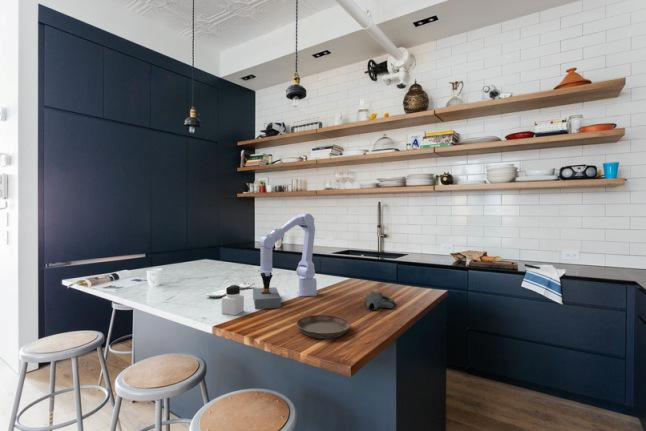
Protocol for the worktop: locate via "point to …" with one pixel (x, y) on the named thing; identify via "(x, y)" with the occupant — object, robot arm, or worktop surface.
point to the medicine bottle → (232, 301)
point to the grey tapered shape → (378, 301)
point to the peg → (265, 290)
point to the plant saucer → (323, 326)
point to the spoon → (223, 292)
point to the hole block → (266, 298)
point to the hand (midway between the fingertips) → (266, 287)
